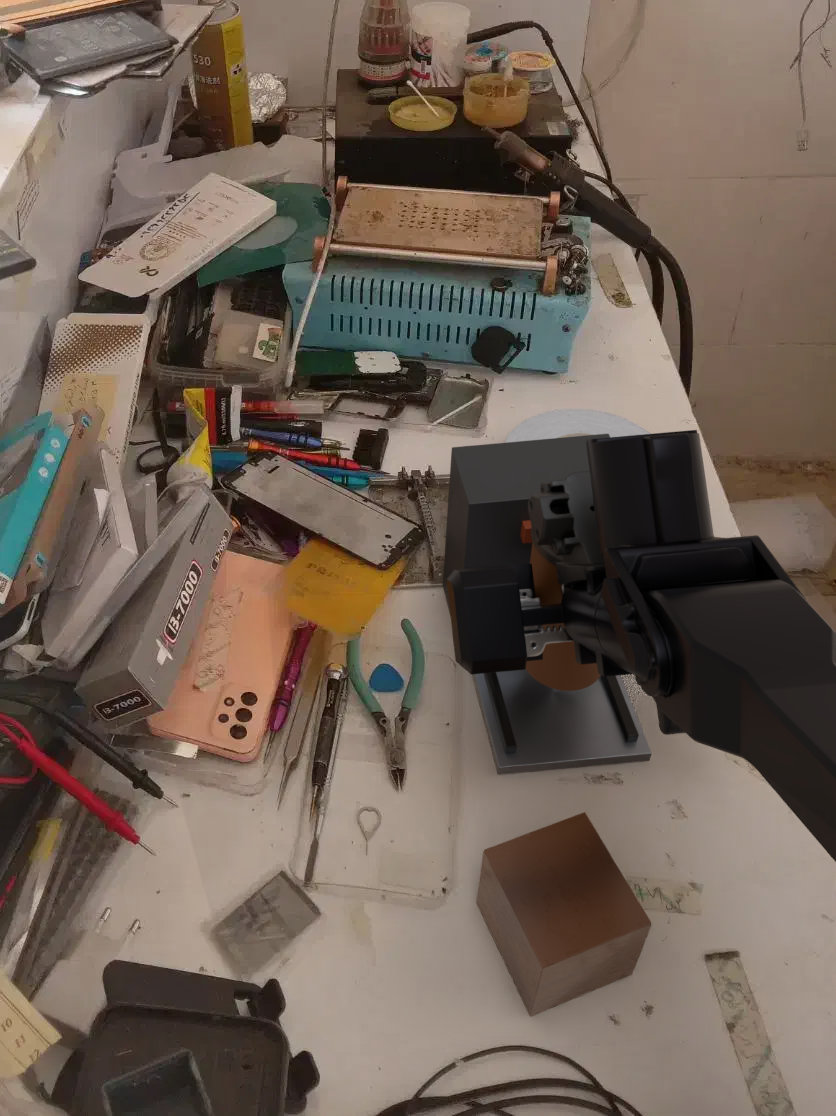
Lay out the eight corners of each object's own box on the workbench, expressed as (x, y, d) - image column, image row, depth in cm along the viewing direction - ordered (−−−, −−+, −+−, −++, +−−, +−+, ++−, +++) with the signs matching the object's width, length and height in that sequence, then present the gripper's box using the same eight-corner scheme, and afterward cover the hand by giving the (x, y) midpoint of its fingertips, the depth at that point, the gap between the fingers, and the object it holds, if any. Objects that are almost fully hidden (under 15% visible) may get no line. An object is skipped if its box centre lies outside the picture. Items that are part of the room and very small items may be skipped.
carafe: (620, 689, 70) (649, 561, 62) (529, 697, 70) (547, 571, 62) (584, 601, 76) (607, 475, 68) (501, 608, 76) (514, 483, 68)
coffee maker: (607, 637, 80) (640, 497, 70) (459, 651, 80) (471, 512, 70) (581, 572, 85) (608, 433, 76) (442, 584, 85) (451, 447, 75)
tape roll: (639, 593, 83) (649, 552, 80) (468, 527, 90) (472, 487, 87) (688, 479, 93) (699, 439, 90) (531, 428, 100) (536, 388, 97)
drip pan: (649, 760, 72) (654, 747, 70) (497, 775, 71) (499, 761, 70) (600, 634, 80) (603, 620, 79) (464, 647, 80) (466, 633, 79)
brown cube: (632, 974, 61) (652, 923, 57) (530, 1017, 59) (542, 968, 55) (571, 865, 66) (585, 811, 62) (475, 902, 65) (483, 849, 60)
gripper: (791, 460, 56) (678, 469, 71) (461, 490, 56) (419, 492, 71) (823, 664, 54) (701, 627, 70) (484, 696, 54) (437, 652, 70)
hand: (563, 595), depth 70 cm, fingers closed on carafe, 6 cm apart
